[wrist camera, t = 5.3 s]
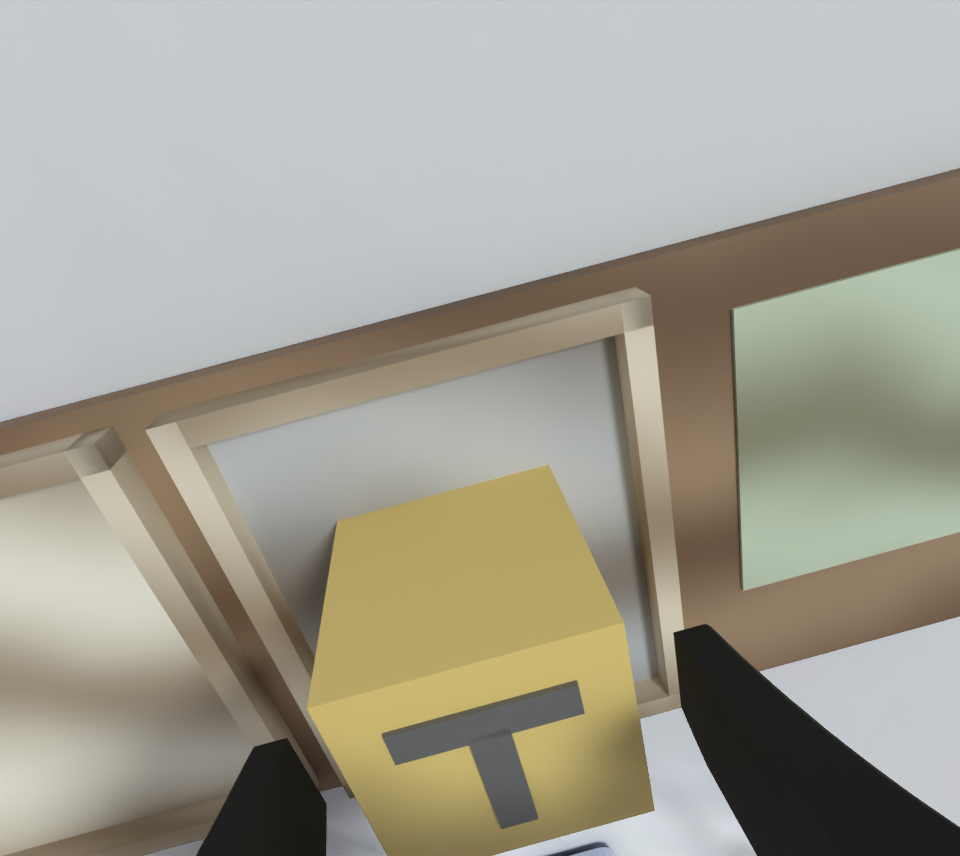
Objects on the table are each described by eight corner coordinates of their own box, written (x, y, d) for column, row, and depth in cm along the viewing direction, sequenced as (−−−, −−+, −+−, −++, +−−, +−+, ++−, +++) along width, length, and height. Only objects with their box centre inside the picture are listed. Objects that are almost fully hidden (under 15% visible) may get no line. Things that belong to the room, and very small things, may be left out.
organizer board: (966, 596, 18) (1008, 629, 17) (-8, 862, 18) (-39, 917, 17) (1054, 142, 12) (1127, 143, 11) (-386, 524, 12) (-477, 568, 11)
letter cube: (581, 621, 16) (656, 816, 11) (399, 670, 16) (400, 886, 11) (548, 464, 13) (626, 627, 9) (337, 520, 13) (305, 714, 9)
